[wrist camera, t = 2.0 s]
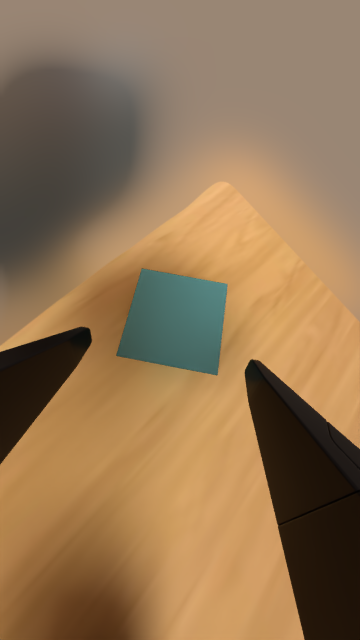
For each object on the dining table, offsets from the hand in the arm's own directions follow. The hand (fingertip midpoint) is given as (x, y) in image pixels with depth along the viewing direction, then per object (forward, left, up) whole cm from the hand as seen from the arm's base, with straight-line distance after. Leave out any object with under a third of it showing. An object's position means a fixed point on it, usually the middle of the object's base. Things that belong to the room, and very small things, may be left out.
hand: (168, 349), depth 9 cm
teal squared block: (+1, -2, -11) cm, 11 cm away
